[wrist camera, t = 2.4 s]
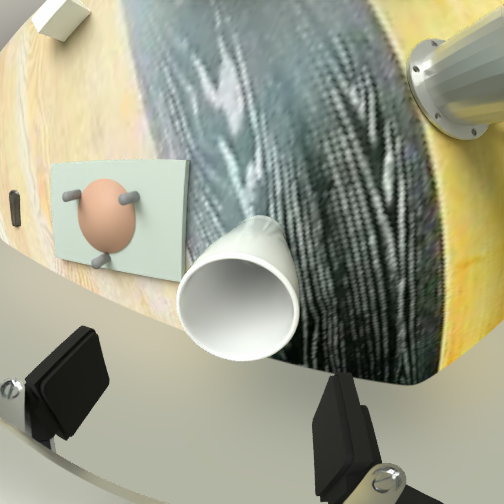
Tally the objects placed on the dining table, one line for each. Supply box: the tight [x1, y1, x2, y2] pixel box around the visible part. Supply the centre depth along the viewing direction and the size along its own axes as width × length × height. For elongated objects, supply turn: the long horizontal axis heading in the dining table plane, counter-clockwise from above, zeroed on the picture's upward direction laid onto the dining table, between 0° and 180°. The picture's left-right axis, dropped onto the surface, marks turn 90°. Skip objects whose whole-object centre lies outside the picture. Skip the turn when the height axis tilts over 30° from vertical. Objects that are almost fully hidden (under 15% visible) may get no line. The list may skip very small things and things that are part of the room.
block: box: [9, 190, 21, 226], centre depth 31 cm, size 4×6×2 cm, turn 177°
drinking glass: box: [176, 215, 300, 362], centre depth 21 cm, size 7×7×15 cm
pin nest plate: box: [51, 159, 190, 282], centre depth 27 cm, size 20×13×4 cm, turn 84°
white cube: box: [32, 0, 91, 42], centre depth 18 cm, size 6×6×6 cm
